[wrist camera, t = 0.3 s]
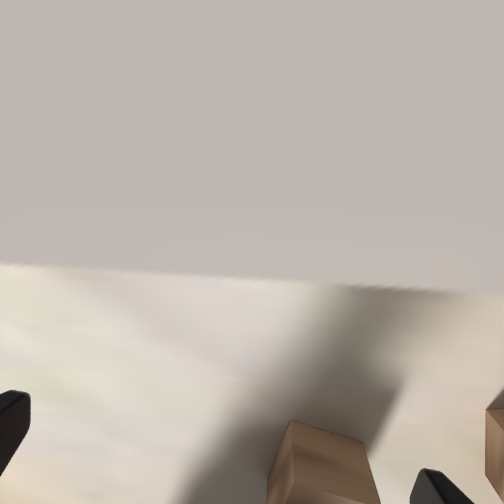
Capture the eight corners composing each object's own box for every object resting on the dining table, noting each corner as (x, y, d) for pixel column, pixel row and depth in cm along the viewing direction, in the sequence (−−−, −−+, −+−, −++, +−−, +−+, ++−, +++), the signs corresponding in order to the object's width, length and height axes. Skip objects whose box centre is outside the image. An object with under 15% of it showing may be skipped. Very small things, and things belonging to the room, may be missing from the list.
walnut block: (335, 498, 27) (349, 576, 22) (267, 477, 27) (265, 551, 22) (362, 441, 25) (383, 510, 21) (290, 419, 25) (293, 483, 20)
